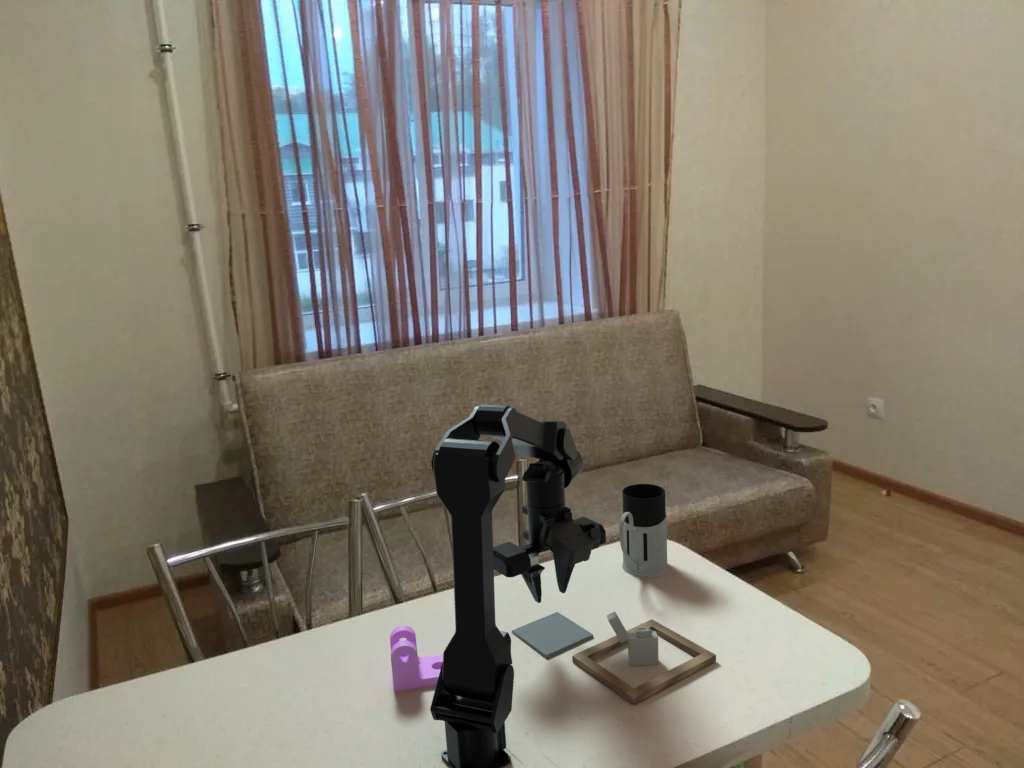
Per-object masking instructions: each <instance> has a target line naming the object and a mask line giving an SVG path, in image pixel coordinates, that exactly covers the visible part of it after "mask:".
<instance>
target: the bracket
mask: <svg viewBox="0 0 1024 768" xmlns="http://www.w3.org/2000/svg"><path fill="white" fill-rule="evenodd" d="M403 638H405V639H406V640H401V639H403ZM389 642H390V643H389V644H390V645H389V646H390V663H391V664H390V665H391V673H392V681H393V683H392V684H393V691H394V692H398V691H404V690H412V689H419V688H426V687H432V686H436V685H437V681H438V677H439V674H440V670H441V666H442V663H443V653H441V654H437V655H429V656H423V657H419V655H418V645H417V636H416V632H415V630H414V629H413V628H412V627H411V626H409V625H404V624H403V625H398V626H396V627H395V628H394V629H393V630H392V631H391V633H390V635H389Z"/></svg>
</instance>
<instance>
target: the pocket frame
mask: <svg viewBox="0 0 1024 768" xmlns="http://www.w3.org/2000/svg"><path fill="white" fill-rule="evenodd" d="M640 627H648V628H649V629H651V630H652V631H656V633H657V635H658V637H661V638H662V639H664V640H666V641H667V642H668V643H670V644H672V645H674V647H675V646H676V647H677V648H679V649H681V650H682V651H684V652H685V653H687V654H689V655H691V656H692V658H690V659H688V660H687V661H685V662H683V663H680V664H679V665H677V666H675V667H673V668H671V669H669V670H667V671H665V672H663V673H661V674H659V675H657V676H655V677H654V678H651V679H649V680H648V681H646V682H644V683H641V684H640V685H638V686H635V687H633V686H632V685H630V684H629V683H627V682H626V681H624V680H623V679H621V678H620V677H618V676H617V675H616V674H614V673H612V672H611V671H609V670H608V669H606V668H605V667H603V666H602V665H601V664H599V663H597V662H596V661H595V659H598V658H599V657H602V656H604V655H606V654H608V653H610V652H612V651H614V650H616V649H618V648H620V647H623V646H625V645H628V640H627V641H625V642H623V643H621V642H620V640H619V638H618V637H617V635H616V634H615V635H614V636H612V637H610V638H608V639H605V640H603V641H601V642H599V643H597V644H594V645H593V646H589V647H588V648H586V649H584V650H582V651H579V652H577V653H575V654H573V655H572V660H571V661H572V663H574V664H575V665H576V666H578V667H579V668H581V669H582V670H584V671H585V672H586V673H588V674H589V675H591V676H592V677H594V678H595V679H596V680H598V681H600V682H601V683H602V684H604V685H605V686H607V687H608V688H609V689H611V690H613V691H614V692H615V693H617V694H619V696H621V697H623V699H625V700H627V701H628V702H629V703H631V704H632V705H636V704H637V703H639V702H641V701H643V700H645V699H647V698H649V697H651V696H652V695H655V694H656V693H658V692H660V691H662V690H664V689H666V688H668V687H671V686H672V685H673V684H675V683H678V682H679V681H682V680H683V679H685V678H686V677H689V676H690V675H693V674H695V673H696V672H698V671H700V670H702V669H704V668H706V667H708V666H710V665H711V664H713V663H715V662H717V654H715V653H713V652H712V651H709V650H708V649H706V648H705V647H703V646H700V645H699V644H697V643H695V642H694V641H692V640H690V639H688V638H687V637H685V636H683V635H681V634H680V633H678V632H676V631H674V630H672V629H670V628H669V627H667V626H665V625H663V624H662V623H659V622H658V621H656V620H654V619H652V618H651V619H649V620H647V621H646V622H645V621H644V622H642V623H641V624H638V625H636V626H634V627H632V628H629V629H628V630H627V629H626V631H627V633H636V628H640Z"/></svg>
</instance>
